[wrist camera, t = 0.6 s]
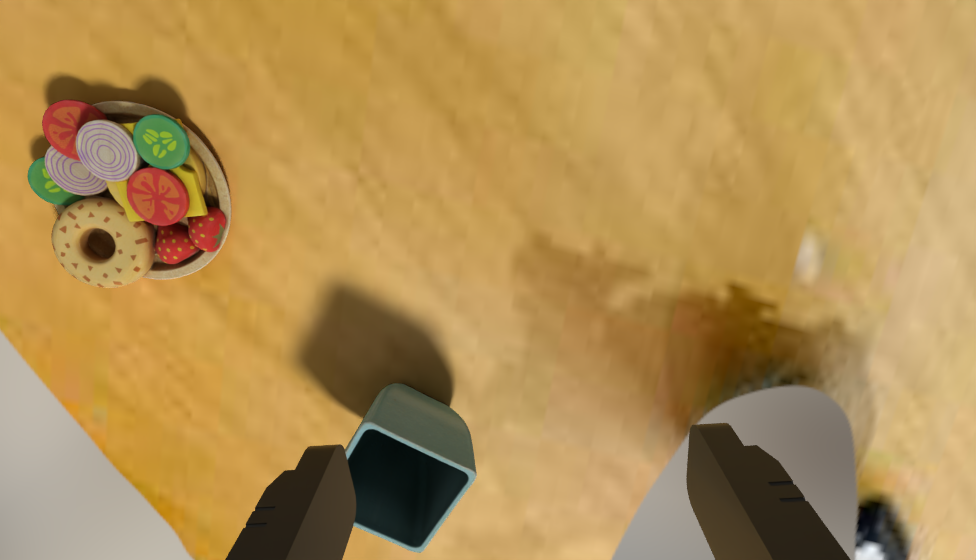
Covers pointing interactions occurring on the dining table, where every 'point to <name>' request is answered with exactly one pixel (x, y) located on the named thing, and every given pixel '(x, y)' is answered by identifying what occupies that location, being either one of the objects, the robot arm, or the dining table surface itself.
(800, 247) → the dining table surface
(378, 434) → the flower pot
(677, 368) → the dining table surface
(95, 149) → the toy food set
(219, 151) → the dining table surface
